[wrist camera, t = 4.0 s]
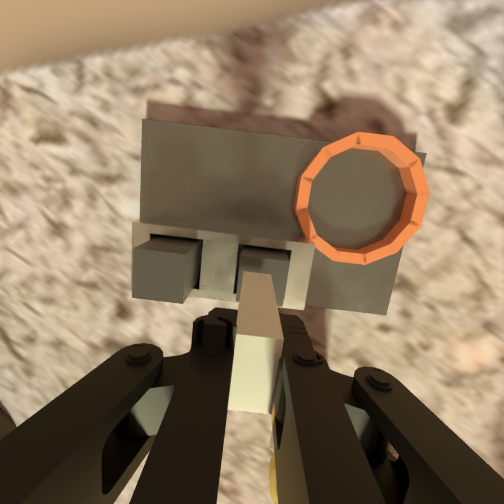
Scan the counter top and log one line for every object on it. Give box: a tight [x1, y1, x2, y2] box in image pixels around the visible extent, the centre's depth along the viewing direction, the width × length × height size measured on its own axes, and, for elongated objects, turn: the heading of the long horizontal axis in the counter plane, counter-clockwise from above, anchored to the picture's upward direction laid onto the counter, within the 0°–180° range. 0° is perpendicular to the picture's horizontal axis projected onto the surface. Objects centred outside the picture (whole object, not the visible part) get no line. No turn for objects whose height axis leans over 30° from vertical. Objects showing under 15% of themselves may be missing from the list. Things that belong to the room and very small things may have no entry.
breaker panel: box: [131, 119, 426, 315], centre depth 21 cm, size 21×13×5 cm, turn 83°
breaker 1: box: [132, 235, 202, 304], centre depth 18 cm, size 3×3×4 cm
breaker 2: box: [236, 245, 290, 307], centre depth 19 cm, size 3×3×4 cm
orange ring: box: [293, 132, 429, 265], centre depth 20 cm, size 9×9×2 cm
